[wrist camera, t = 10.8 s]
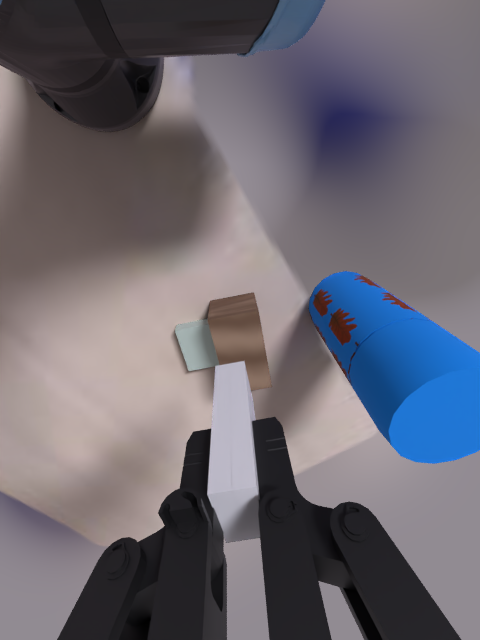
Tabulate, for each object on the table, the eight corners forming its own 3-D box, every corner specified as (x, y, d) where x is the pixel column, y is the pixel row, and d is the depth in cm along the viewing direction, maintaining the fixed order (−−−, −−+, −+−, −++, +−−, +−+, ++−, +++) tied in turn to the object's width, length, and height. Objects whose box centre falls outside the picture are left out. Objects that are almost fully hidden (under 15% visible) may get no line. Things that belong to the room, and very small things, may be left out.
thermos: (322, 342, 48) (406, 480, 26) (296, 292, 44) (368, 405, 22) (383, 312, 46) (530, 433, 24) (361, 257, 42) (515, 341, 20)
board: (177, 323, 46) (174, 330, 44) (242, 310, 46) (243, 317, 43) (190, 362, 50) (188, 371, 47) (251, 351, 49) (252, 359, 47)
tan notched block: (210, 300, 44) (207, 320, 38) (253, 292, 44) (258, 310, 37) (227, 368, 50) (227, 394, 44) (266, 361, 50) (271, 386, 43)
